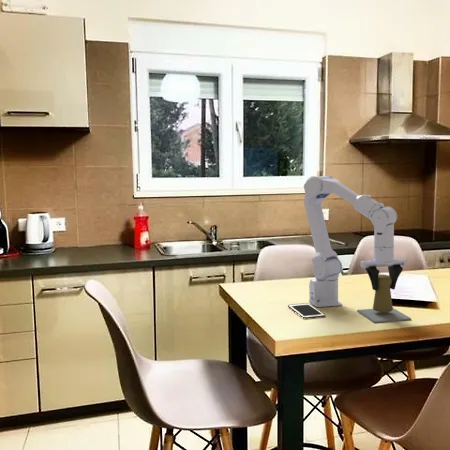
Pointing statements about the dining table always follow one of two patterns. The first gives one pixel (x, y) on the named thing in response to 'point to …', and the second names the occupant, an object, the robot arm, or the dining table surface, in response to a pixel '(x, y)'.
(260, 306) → the dining table surface
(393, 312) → the slate mat
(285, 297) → the dining table surface
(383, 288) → the cork
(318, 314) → the cell phone
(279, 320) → the dining table surface
